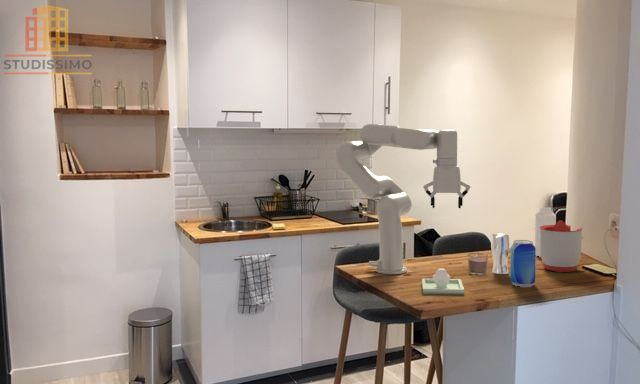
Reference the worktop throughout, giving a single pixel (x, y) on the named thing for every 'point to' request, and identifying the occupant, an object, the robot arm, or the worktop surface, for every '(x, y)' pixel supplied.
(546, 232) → the citrus juicer
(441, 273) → the white round lump
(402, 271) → the robot arm
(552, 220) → the milk
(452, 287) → the tray
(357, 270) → the worktop surface
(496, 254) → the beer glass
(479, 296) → the worktop surface
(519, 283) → the beer can
